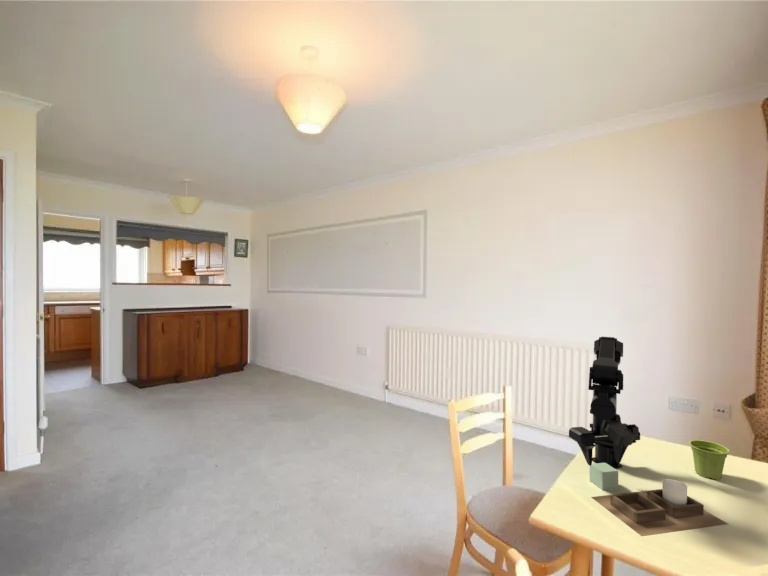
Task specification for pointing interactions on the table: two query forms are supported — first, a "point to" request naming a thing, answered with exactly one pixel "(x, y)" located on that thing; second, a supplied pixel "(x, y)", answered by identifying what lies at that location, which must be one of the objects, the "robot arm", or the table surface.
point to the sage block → (604, 476)
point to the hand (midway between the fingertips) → (603, 463)
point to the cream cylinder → (674, 492)
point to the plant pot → (708, 458)
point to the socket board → (657, 512)
